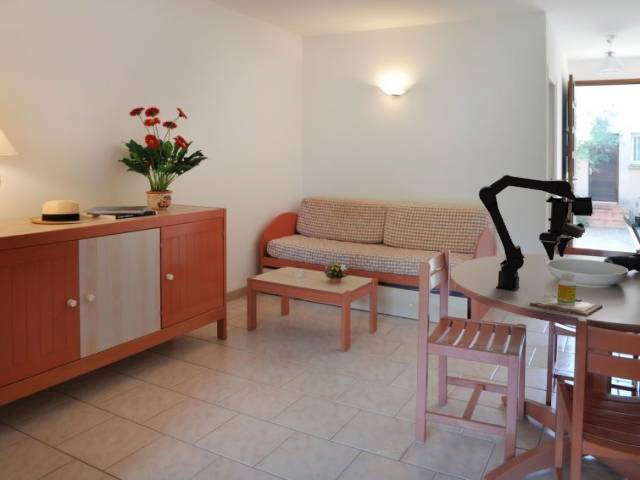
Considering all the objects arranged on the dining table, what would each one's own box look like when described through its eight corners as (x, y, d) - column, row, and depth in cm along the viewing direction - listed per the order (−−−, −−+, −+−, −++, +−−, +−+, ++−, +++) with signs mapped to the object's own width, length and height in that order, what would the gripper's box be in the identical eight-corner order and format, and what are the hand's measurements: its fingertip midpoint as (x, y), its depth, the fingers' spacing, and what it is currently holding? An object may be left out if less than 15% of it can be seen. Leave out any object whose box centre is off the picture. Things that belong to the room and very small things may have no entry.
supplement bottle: (569, 306, 179) (571, 276, 178) (553, 302, 183) (555, 273, 182) (578, 303, 182) (580, 274, 181) (562, 300, 187) (564, 271, 185)
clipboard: (529, 305, 184) (530, 300, 184) (547, 297, 194) (547, 292, 194) (586, 316, 172) (587, 311, 172) (602, 307, 182) (602, 302, 182)
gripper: (572, 219, 187) (569, 265, 189) (592, 215, 200) (589, 257, 203) (539, 216, 195) (537, 260, 197) (560, 212, 208) (558, 254, 210)
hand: (556, 258), depth 202 cm, fingers open, 9 cm apart
